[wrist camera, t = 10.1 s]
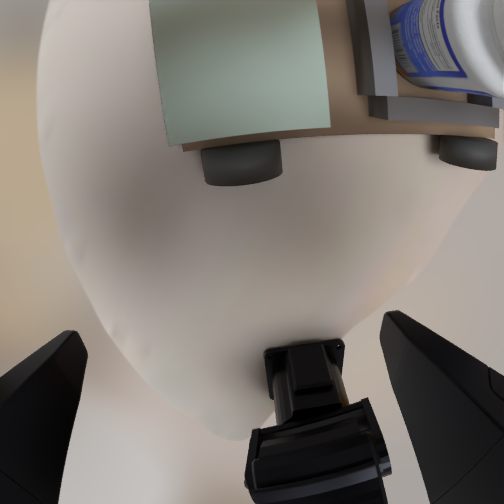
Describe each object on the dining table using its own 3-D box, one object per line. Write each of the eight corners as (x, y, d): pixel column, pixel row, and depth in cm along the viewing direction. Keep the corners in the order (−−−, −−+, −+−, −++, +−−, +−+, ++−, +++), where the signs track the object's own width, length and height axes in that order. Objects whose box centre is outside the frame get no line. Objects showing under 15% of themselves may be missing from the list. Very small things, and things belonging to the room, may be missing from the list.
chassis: (480, 156, 18) (542, 184, 12) (192, 173, 18) (169, 212, 12) (463, -26, 11) (521, -43, 5) (163, -43, 11) (132, -92, 6)
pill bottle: (464, 36, 12) (585, 35, 4) (442, 105, 15) (570, 138, 6) (393, -12, 11) (505, -62, 3) (367, 61, 14) (491, 44, 5)
